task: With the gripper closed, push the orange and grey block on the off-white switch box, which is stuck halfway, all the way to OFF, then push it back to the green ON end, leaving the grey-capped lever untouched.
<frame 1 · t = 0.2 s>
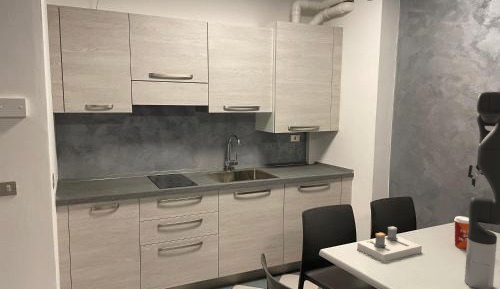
hand: (484, 187, 173), 29 cm above the table, tool pointing down, fingers open, 8 cm apart
on lever: (392, 233, 177), point 6 cm above the table, slide at 4.0 cm
paper cup: (461, 246, 177), on the table
switch box: (389, 250, 171), on the table
orange and grey block: (380, 239, 168), point 6 cm above the table, slide at 0.0 cm
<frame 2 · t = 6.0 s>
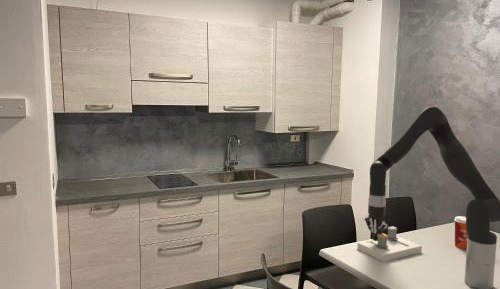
hand: (375, 240, 170), 5 cm above the table, tool pointing down, fingers closed
orange and grey block: (382, 240, 167), point 6 cm above the table, slide at -1.3 cm, touching gripper
everything else where it was.
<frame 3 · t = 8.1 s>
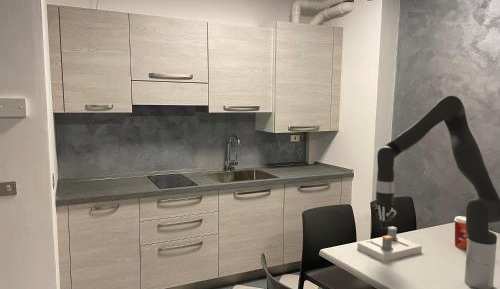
hand: (383, 228, 165), 12 cm above the table, tool pointing down, fingers closed
orange and grey block: (387, 242, 164), point 6 cm above the table, slide at -4.1 cm
everything else where it was.
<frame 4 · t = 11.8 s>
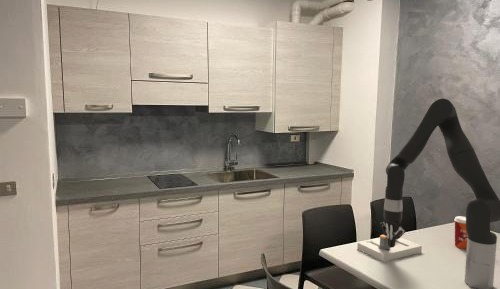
hand: (391, 246, 162), 5 cm above the table, tool pointing down, fingers closed
orange and grey block: (384, 241, 165), point 6 cm above the table, slide at -2.6 cm, touching gripper
everything else where it was.
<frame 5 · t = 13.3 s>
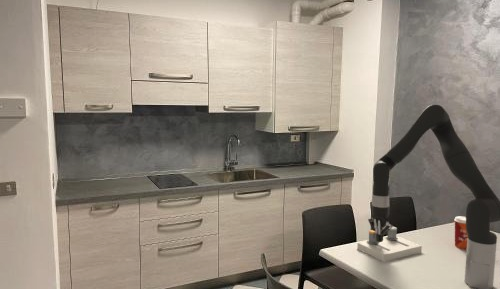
hand: (379, 241, 168), 5 cm above the table, tool pointing down, fingers closed
orange and grey block: (373, 236, 172), point 6 cm above the table, slide at 4.2 cm, touching gripper
everything else where it was.
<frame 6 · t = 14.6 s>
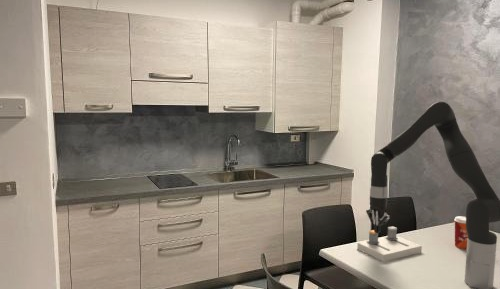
hand: (377, 232, 169), 9 cm above the table, tool pointing down, fingers closed
orange and grey block: (373, 236, 171), point 6 cm above the table, slide at 4.1 cm
everything else where it was.
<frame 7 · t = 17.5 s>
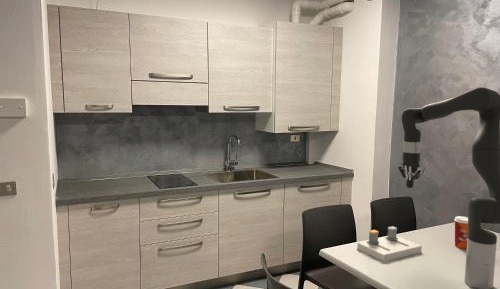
hand: (409, 187, 172), 29 cm above the table, tool pointing down, fingers closed
nothing on the table moved.
at the end: orange and grey block slide at 4.1 cm; on lever slide at 4.0 cm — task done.
